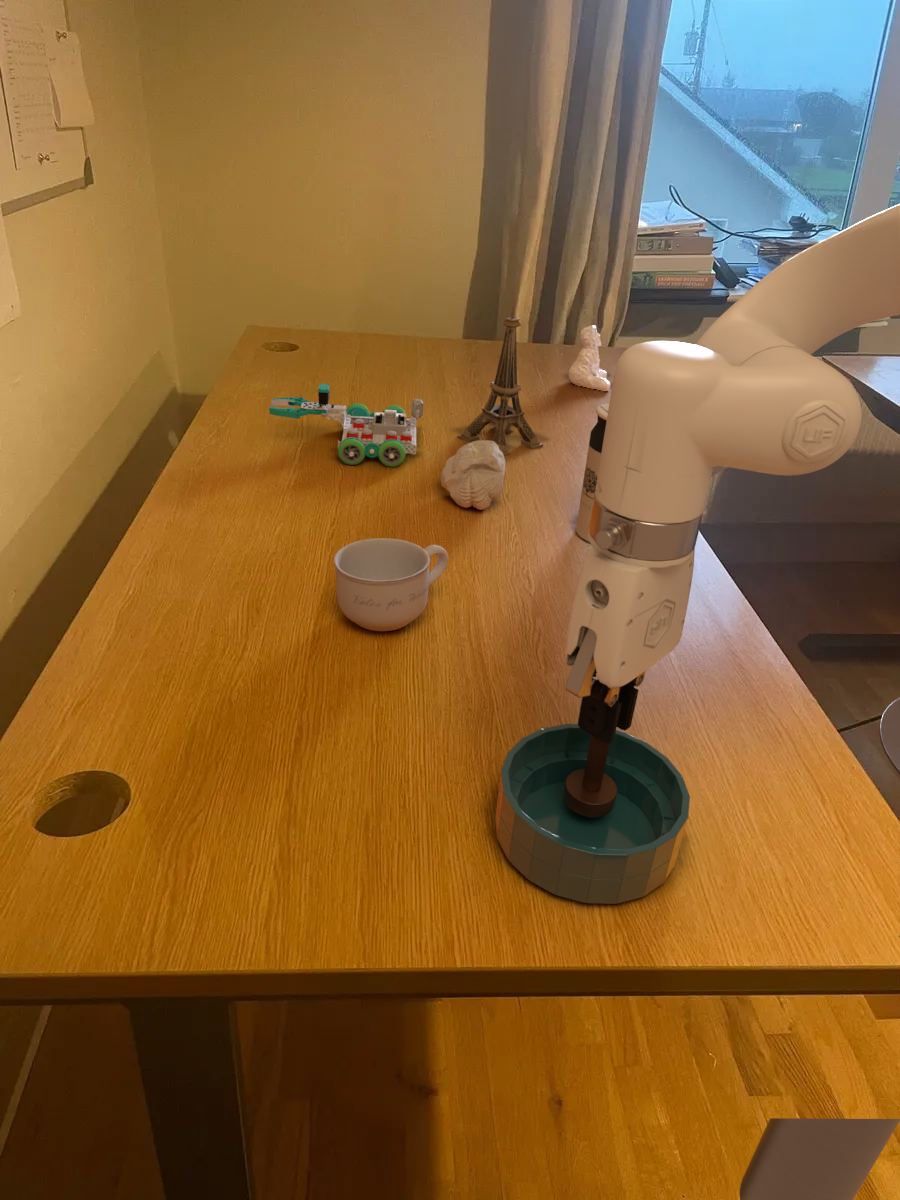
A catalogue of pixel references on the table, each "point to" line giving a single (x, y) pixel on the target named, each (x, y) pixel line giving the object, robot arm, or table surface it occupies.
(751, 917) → the table surface
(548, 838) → the bowl
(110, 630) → the table surface
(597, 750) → the stirring stick
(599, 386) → the sitting furry creature
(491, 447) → the fossil replica
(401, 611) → the teacup
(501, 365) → the eiffel tower
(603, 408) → the travel mug
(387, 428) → the robot kit
